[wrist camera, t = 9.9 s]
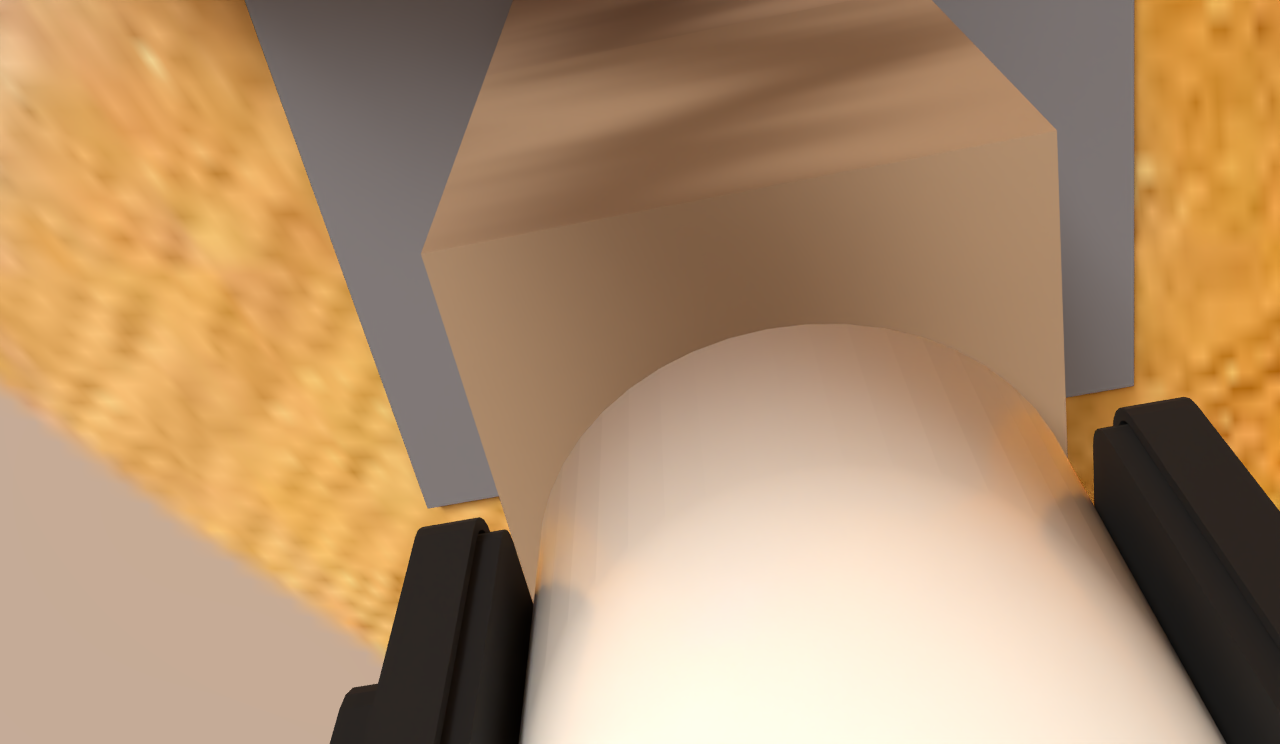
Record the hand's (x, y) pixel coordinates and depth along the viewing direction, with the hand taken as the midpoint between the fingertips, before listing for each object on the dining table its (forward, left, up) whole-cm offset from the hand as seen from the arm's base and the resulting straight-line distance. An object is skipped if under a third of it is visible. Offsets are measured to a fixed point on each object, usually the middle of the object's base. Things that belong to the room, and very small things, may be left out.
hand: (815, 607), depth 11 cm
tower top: (0, 0, -8) cm, 8 cm away
